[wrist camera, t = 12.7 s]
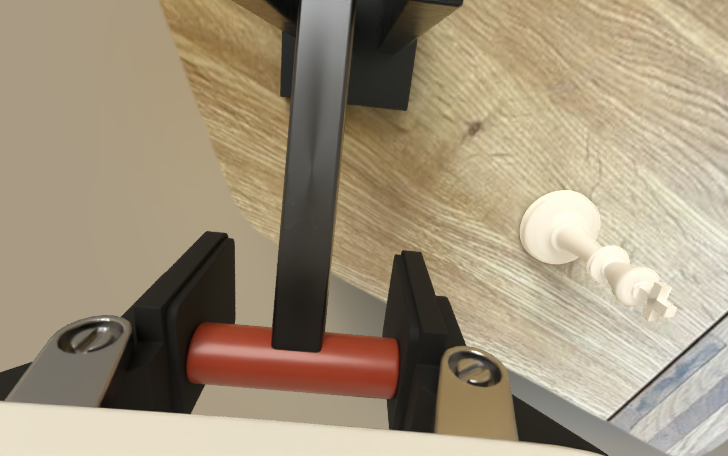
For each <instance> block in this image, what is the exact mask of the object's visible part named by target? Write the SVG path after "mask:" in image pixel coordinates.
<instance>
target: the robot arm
mask: <svg viewBox="0 0 728 456" xmlns="http://www.w3.org/2000/svg"><path fill="white" fill-rule="evenodd" d="M203 322H215V323H226V324H235V245H234V239H231V238H228V235H227V233H220V232H210V231H207V232H205V233H204V234H203V235H202V236H201V237H200V238H199V239H198V240H197V241H196V242H195V243H194V244H193V245H192V246H191V247H190V248H189V249H188V250H187V251H186V252H185V253H184V254H183V255H182V256H181V258H179V259H178V260H177V262H176V263H175V264H173V266H172V267H171V268H170V269H169V270H168V271H167V272H165V273H164V274H163V275H162V276H161V277H160V278H159V279H158V280H157V281H156V282H155V283H154V284H153V285H152V286H151V287H150V288H149V289H148V290H147V291H146V292H145V293H144V294H143V295H142V296H141V297H140V298H139V299H138V300H137V301H136V302H135V303H134V304H133V305H132V306H131V307H130V308H129V309H128V310H127V311H126V312H125V313H124V314H123V315H122V316H121V317H118V316H110V315H102V316H93V317H89V318H85V319H81V320H78V321H75V322H73V323H71V324H68V325H66V326H65V327H63V328H61V329H60V330H58V331H57V332H56V333H55V334H54V335H53V336H52V337H51V338H50V339H49V340H48V342H47V343H46V345H45V346H44V347H43V349H42V350H41V351H40V353H39V354H38V356H37V357H36V358H35V360H34V361H33V362H30V363H27V364H24V365H21V366H19V367H15V368H12V369H9V370H6V371H3V372H0V456H608V455H607V454H606V453H604V452H603V451H601V450H600V449H598V448H597V447H595V446H593V445H592V444H590V443H589V442H587V441H585V440H584V439H582V438H581V437H579V436H578V435H576V434H574V433H573V432H571V431H570V430H568V429H566V428H565V427H563V426H562V425H560V424H558V423H557V422H555V421H554V420H552V419H550V418H549V417H547V416H546V415H544V414H543V413H541V412H539V411H538V410H536V409H535V408H533V407H531V406H530V405H528V404H527V403H525V402H524V401H522V400H520V399H518V398H517V397H515V396H514V395H512V393H511V387H510V379H509V375H508V372H507V369H506V368H505V367H504V365H503V364H502V363H501V362H500V361H499V360H498V359H497V358H495V357H494V356H493V355H491V354H489V353H487V352H485V351H483V350H480V349H477V348H474V347H468V346H466V344H465V341H464V339H463V336H462V333H461V331H460V328H459V326H458V323H457V320H456V318H455V315H454V313H453V310H452V307H451V305H450V302H449V300H448V298H447V297H444V296H436V295H435V292H434V289H433V286H432V283H431V280H430V277H429V274H428V271H427V268H426V265H425V262H424V259H423V256H422V253H421V252H415V251H405V250H402V253H401V255H397V254H395V256H394V261H393V268H392V274H391V281H390V287H389V294H388V300H387V307H386V314H385V320H384V327H383V336H382V337H385V338H394V339H396V340H397V342H398V346H399V357H400V364H399V380H398V387H397V391H396V394H395V397H394V398H392V399H387V408H388V421H389V430H387V429H374V428H362V427H348V426H336V425H323V424H311V423H298V422H285V421H272V420H259V419H246V418H233V417H219V416H206V415H192V414H191V412H192V410H193V408H194V406H195V404H196V402H197V400H198V398H199V396H200V394H201V392H202V390H203V388H204V386H205V384H195V383H191V382H190V381H189V380H188V378H187V375H186V359H187V352H188V348H189V344H190V341H191V338H192V336H193V334H194V332H195V330H196V328H197V327H198V326H199V324H201V323H203Z"/></svg>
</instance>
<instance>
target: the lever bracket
mask: <svg viewBox="0 0 728 456" xmlns="http://www.w3.org/2000/svg"><path fill="white" fill-rule="evenodd" d="M232 1H234V2H236V3H237V4H239V5H241V6H242V7H244V8H246V9H247V10H249V11H251V12H252V13H254V14H256V15H257V16H259V17H261V18H262V19H264V20H266V21H267V22H269V23H271V24H272V25H274V26H276V27H277V28H279V29H281V30H282V58H281V89H280V96H281V97H288V98H291V92H292V80H293V68H294V56H295V44H296V31H297V19H298V7H299V0H232ZM462 4H463V0H357V5H356V15H355V26H354V36H353V46H352V57H351V67H350V77H349V88H348V98H347V104H350V105H359V106H368V107H376V108H385V109H394V110H403V111H407V108H408V101H409V94H410V87H411V80H412V73H413V66H414V59H415V52H416V45H417V38H418V37H419V36H421V35H422V34H424V33H425V32H426V31H428V30H429V29H431V28H432V27H433V26H435V25H436V24H438V23H439V22H440V21H442V20H443V19H444V18H446V17H447V16H449V15H450V14H451V13H453V12H454V11H456V10H457V9H458V8H460V7H461V6H462Z"/></svg>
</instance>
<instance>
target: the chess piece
mask: <svg viewBox="0 0 728 456" xmlns="http://www.w3.org/2000/svg"><path fill="white" fill-rule="evenodd" d="M600 226H601V220H600V215H599V212H598V210H597V208H596V206H595V205H594V204H593V203H592V202H591V201H590V200H589V199H588V198H587V197H585V196H584V195H582V194H580V193H578V192H575V191H570V190H560V191H554V192H551V193H548V194H546V195H544V196H542V197H540V198H539V199H537V200H536V201H535V202H534V203H533V204H532V205H531V206H530V207H529V208H528V209H527V211H526V212H525V214H524V216H523V218H522V221H521V224H520V240H521V243H522V245H523V247H524V249H525V250H526V251H527V252H528V253H529V254H530V255H531V256H533V257H535V258H536V259H538V260H539V261H542V262H544V263H548V264H564V263H568V262H571V261H574V260H576V259H578V258H581V259H583V260H584V261H586V262H587V264H586V272H587V275H588V276H589V278H590V279H592V280H593V281H595V282H598V283H601V284H610V286H611V288H612V292H613V294H614V296H615V297H616V299H617V300H618V301H619V302H620V303H621V304H623V305H625V306H629V307H637V306H641V305H644V304H645V307H644V309H643V311H642V314H641V316H643V317H644V318H645V319H646V320H647V321H656V322H657V321H658V319H659V317H660V314H661V315H662V316H663V317H672V318H674V315H675V313H676V311H677V308H676V307H675V306H673V305H672V304H671V303H669V302H668V301H666V300H667V298H668V296H669V293H670V291H671V289H672V287H670V286H669V285H667V284H666V283H665V282H660V278H659V276H658V275H657V273H656V272H654V271H653V270H651V269H649V268H646V267H642V266H636V265H631V264H630V259H629V256H628V255H627V253H626V252H625V250H624V249H622V248H620V247H618V246H605V247H601V246H600V245H599V244H598V243H597V242H596V240H597V237H598V235H599V232H600Z"/></svg>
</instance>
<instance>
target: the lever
mask: <svg viewBox="0 0 728 456" xmlns="http://www.w3.org/2000/svg"><path fill="white" fill-rule="evenodd" d="M356 5H357V0H299V7H298V19H297V31H296V44H295V56H294V68H293V80H292V92H291V105H290V117H289V129H288V141H287V154H286V166H285V178H284V190H283V202H282V215H281V227H280V239H279V251H278V264H277V276H276V288H275V300H274V313H273V324H272V328H271V327H260V326H248V325H238V324H226V323H215V322H203V323H201V324H199V326H198V327H197V328H196V330H195V332H194V334H193V336H192V338H191V341H190V344H189V348H188V352H187V359H186V375H187V378H188V380H189V381H190V382H191V383H195V384H208V385H220V386H232V387H244V388H256V389H269V390H281V391H294V392H306V393H318V394H330V395H343V396H355V397H367V398H380V399H392V398H394V397H395V394H396V391H397V387H398V380H399V364H400V357H399V346H398V342H397V340H396V339H394V338H385V337H374V336H362V335H351V334H339V333H328V332H325V325H326V315H327V304H328V294H329V284H330V273H331V263H332V253H333V242H334V232H335V222H336V211H337V201H338V191H339V180H340V170H341V160H342V150H343V139H344V129H345V119H346V108H347V98H348V88H349V77H350V67H351V57H352V46H353V36H354V26H355V15H356Z"/></svg>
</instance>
